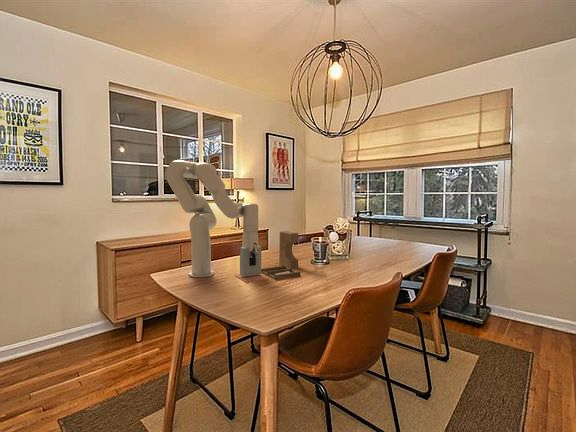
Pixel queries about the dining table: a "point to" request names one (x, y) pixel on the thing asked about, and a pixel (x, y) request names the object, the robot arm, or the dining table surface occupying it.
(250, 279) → the terracotta mat
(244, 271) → the grey rectangular block
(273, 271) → the tray
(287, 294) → the dining table surface
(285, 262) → the decorative block
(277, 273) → the upper offcut slab
